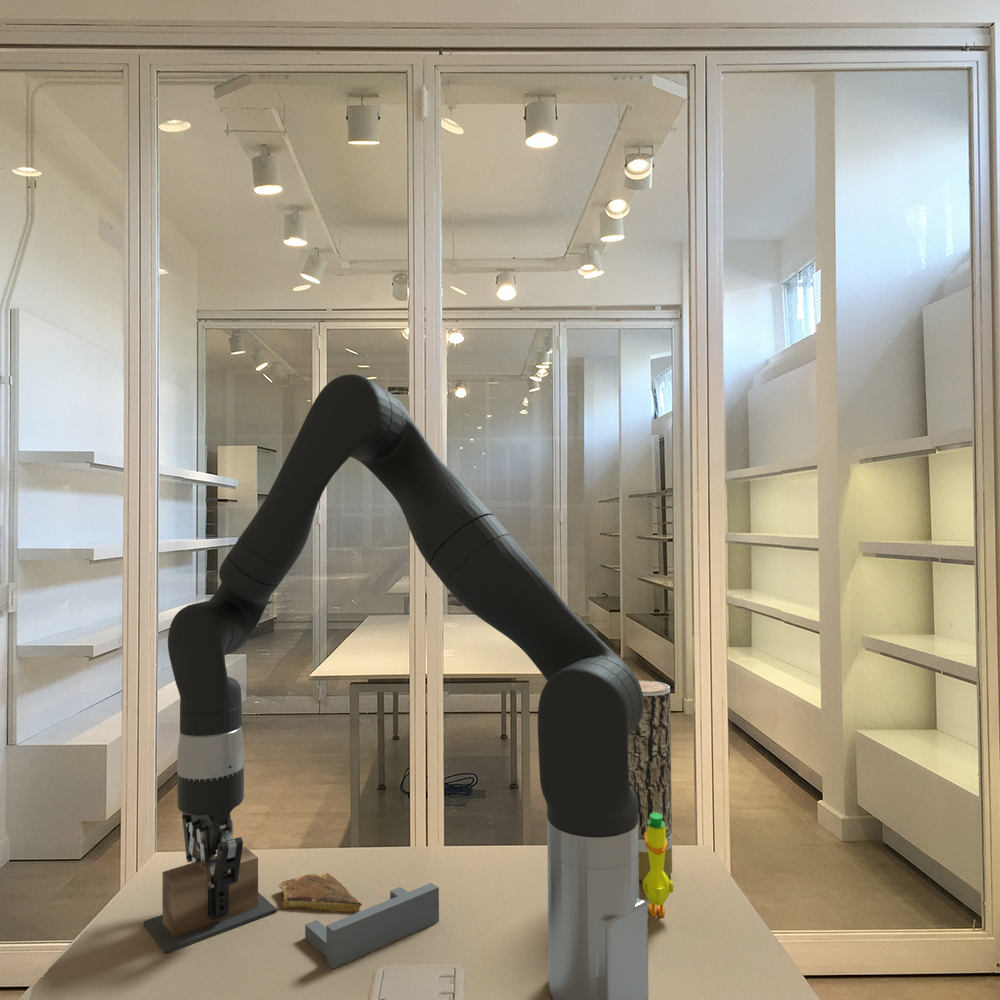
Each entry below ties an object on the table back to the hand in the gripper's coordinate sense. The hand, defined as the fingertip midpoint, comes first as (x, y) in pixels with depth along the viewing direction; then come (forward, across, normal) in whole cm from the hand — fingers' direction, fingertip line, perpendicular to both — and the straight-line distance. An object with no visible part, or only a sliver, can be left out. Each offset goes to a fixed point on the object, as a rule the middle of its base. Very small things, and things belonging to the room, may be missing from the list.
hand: (211, 908), depth 90 cm
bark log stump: (+1, -28, -48) cm, 56 cm away
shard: (+2, -4, -13) cm, 14 cm away
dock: (+1, -15, -13) cm, 20 cm away
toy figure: (+1, -35, -41) cm, 54 cm away
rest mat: (+1, 0, 0) cm, 1 cm away
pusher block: (+1, 0, 0) cm, 1 cm away
